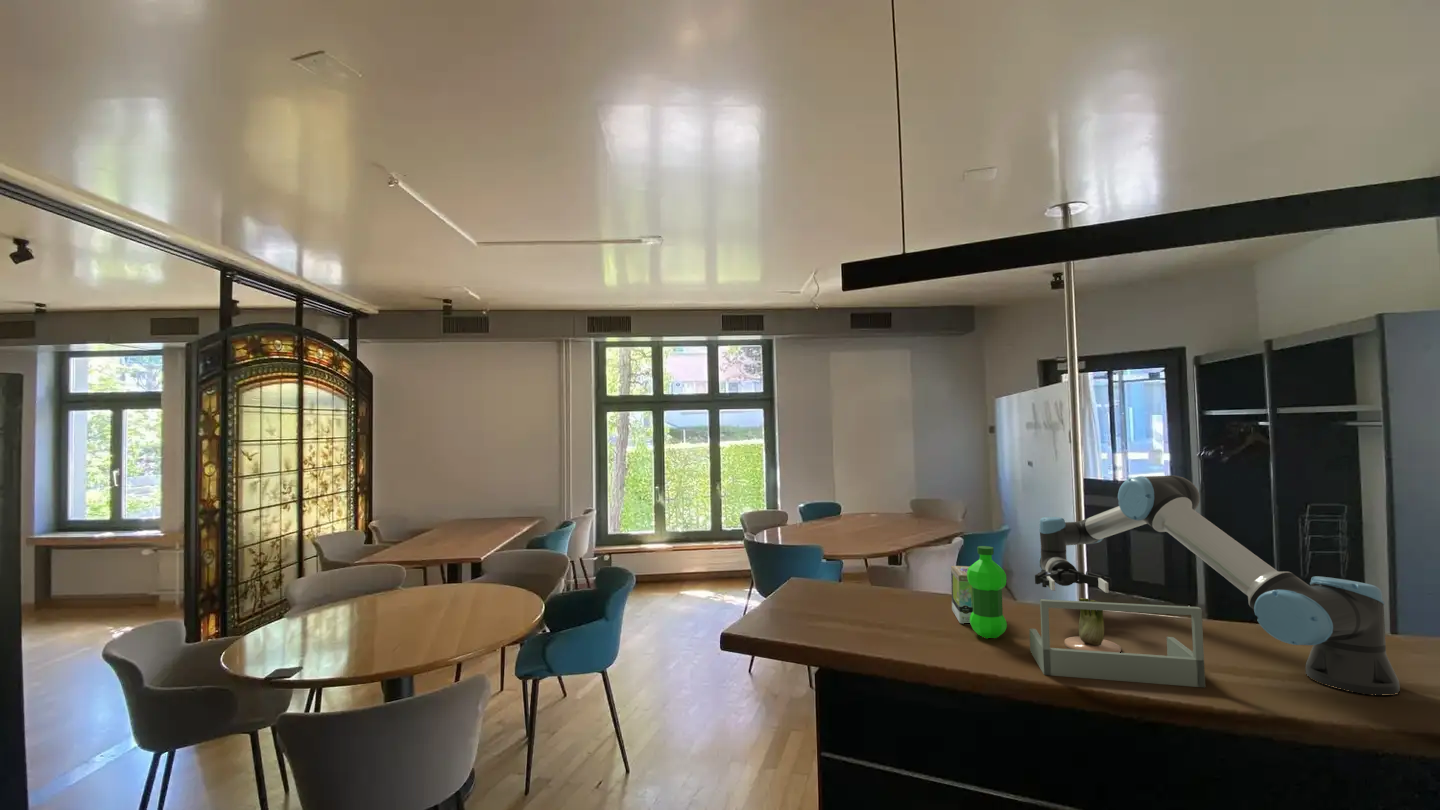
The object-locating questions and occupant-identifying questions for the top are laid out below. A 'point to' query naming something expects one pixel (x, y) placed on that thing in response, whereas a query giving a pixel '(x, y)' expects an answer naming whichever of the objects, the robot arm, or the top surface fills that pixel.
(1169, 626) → the top surface
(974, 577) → the plastic bottle
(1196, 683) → the frame
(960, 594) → the tea box
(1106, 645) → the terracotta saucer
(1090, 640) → the fennel bulb
